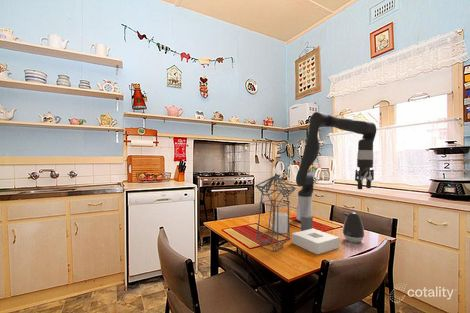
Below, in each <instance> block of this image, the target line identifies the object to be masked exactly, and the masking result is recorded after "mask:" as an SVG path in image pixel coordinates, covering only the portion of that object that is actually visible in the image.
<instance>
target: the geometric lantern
mask: <svg viewBox="0 0 470 313" xmlns="http://www.w3.org/2000/svg"><path fill="white" fill-rule="evenodd" d="M284 183H285V184H287V185H288V186H289V187H287V186H286V185H285V184H284ZM262 184H264V185H262ZM272 186H274V187H275V188H276V189H271V187H272ZM254 187H255V188H257V189H258V191H260V193H261V196H260V202H259V212H258V219H257V220H258V222H257V227H256V228H257V229H256V234H255V235H256V238H257V240H258V241H259V242H260V243H261V245H260V247H261V248H262V249H265V250H268V251H270V252H277V251H279V250H281V249H283V248H284V244H286V243H287V242H289V241H291V238H290V237H291V236H290V234H291V233H290V232H291V230H290V203H289V201H290V200H289V196H291V194H292V193H293V192H294V191H295V190H297V188H296V187H295V186H293V185H292V184H290V183H289V182H287V181H285V180H284V179H282V178H280V177H279V176H278V175H273V176H272V177H269V178H267V179H265V180H263V181H262V182H260V183H258V184H256V185H254ZM269 191H270V192H269ZM276 192H279V194H277V196H276V197H275V199H273V198H272V197H271V195H273V194H274V193H276ZM281 194H282V198H281V199H280V200H277V199H278V198H279V196H280V195H281ZM264 196H267V197H268V200H263V199H264ZM284 198H286V201H287V202H285V201H283V199H284ZM264 202H270V204H269V203H268V204H267V203H264ZM273 202H274V203H273ZM276 202H278V203H277V204H276ZM280 203H283V204H282V205H280ZM262 205H266V206H270V211H269V217H270V219H271V216H272V215H273V218H272V219H271V220H272V223H271V224H272V227H271V226H270V222H271V220H270V219H269V218H268V219H269V223H268V229H267V232H263V233H261V234H259V231H260V222H261V211H262ZM285 206H287V214H288V227H287V233H286V235H284V234H283V235H282V234H281V233H278V212H279V208H281V207H285ZM275 213H277V232H275V231H274V227H275ZM273 225H274V226H273ZM270 227H271V231H270ZM265 234H267V235H268V238H267V239H263V238H261V237H259V236H263V235H265ZM270 234H271V237H270ZM274 235H276V239H274ZM279 236H280V237H283V238H285V239H283V241H280V240H279ZM274 241H275V242H276V243H274ZM265 245H266V246H269V247H271V248H272V249H270V248H266V247H264V246H265ZM274 245H275V246H274ZM278 247H279V248H278ZM277 248H278V249H277Z"/></svg>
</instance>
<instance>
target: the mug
mask: <svg viewBox="0 0 470 313" xmlns="http://www.w3.org/2000/svg"><path fill="white" fill-rule="evenodd" d="M269 219H270V216H269V218H268V220H267V223H268V224H269ZM271 220H273V214H271V219H270V227H271V228H272V223H271ZM273 226H274V225H273ZM287 227H288V212H279V211H278V234H281V235H282V234H283V235H285V234H287ZM274 233H277V212H275V227H274Z"/></svg>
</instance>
